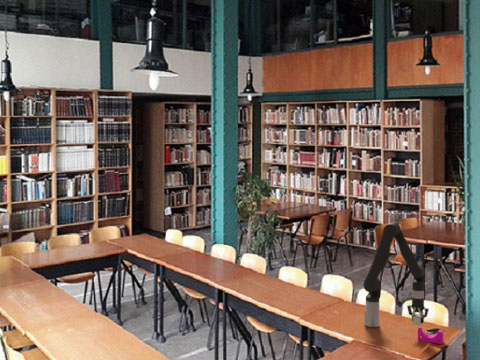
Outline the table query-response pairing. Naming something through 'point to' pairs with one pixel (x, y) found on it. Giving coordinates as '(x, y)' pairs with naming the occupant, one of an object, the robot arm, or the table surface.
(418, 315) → the green brick
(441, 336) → the toy block
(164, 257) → the table surface
